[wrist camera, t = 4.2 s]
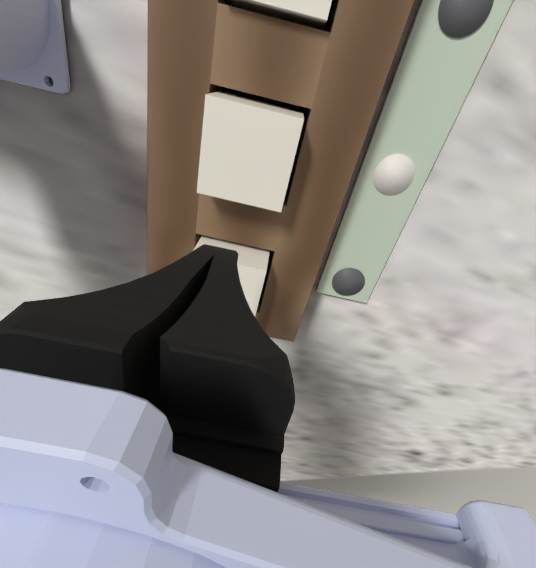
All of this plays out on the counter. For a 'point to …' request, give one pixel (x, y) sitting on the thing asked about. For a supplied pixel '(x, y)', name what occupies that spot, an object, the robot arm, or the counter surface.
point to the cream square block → (245, 267)
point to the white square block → (291, 10)
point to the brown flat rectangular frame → (278, 86)
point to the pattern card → (409, 136)
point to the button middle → (247, 150)
